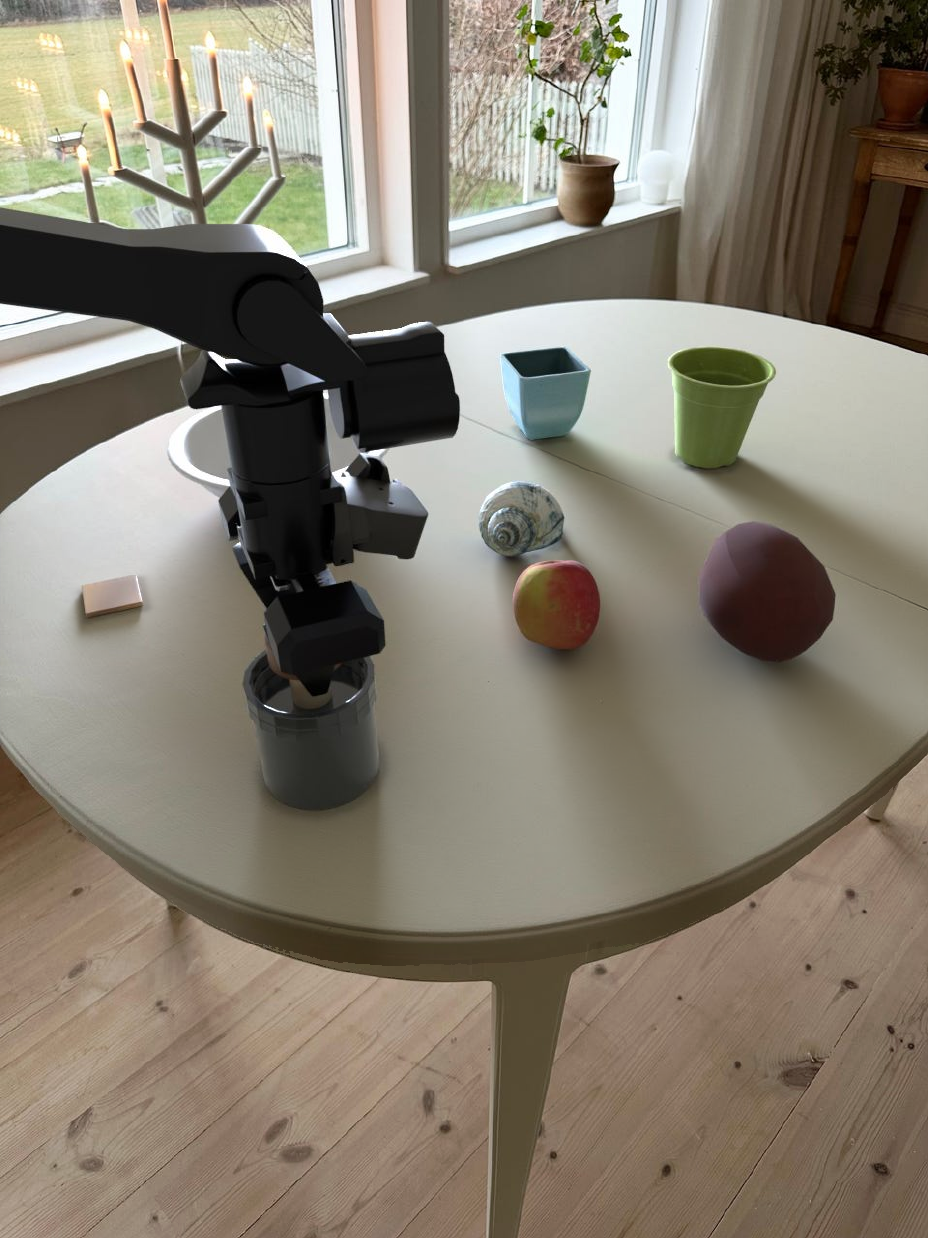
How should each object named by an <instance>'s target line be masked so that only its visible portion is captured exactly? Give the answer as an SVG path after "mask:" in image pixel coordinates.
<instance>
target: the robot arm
mask: <svg viewBox="0 0 928 1238" xmlns="http://www.w3.org/2000/svg"><path fill="white" fill-rule="evenodd" d="M0 305H7V306H14V307H22V308H29V309H30V308H31V309H37V310H43V311H44V310H45V311H52V312H58V313H59V312H60V313H65V314H75V315H81V316H89V317H96V318H104V319H105V318H106V319H112V320H119V321H125V322H126V321H127V322H130V323H133V324H138V325H141V326H144V327H148V328H150V329H154V330H156V331H158V332H160V333H163V334H165V335H167V336H170V337H172V338H174V339H176V340H178V341H181V342H183V343H185V344H187V345H189V346H192V347H194V348H196V349H198V350H201V351H200V354H199V356H198V359H197V360H196V361H195V362H194V364H192V365H191V367H189V368H188V370H187V371H185V372H184V373H183V374H182V375H181V376H180V379H179V380H180V381H179V382H180V385H181V388H182V391H183V394H184V397H185V400H186V402H187V405H188V407H189V408H190V409H192V410H202V409H203V410H204V409H210V408H213V407H217V406H221V408H222V414H223V420H224V426H225V432H226V438H227V444H228V450H229V456H230V462H231V468H227V472H228V478H229V483H230V486H229V487H228V489H227V490H226V491H225V492H224V494H223V495H222V496H221V497H220V498H219V499H218V500H217V502H218V508H219V512H220V513H219V514H220V518H221V524H222V526H223V529H224V531H225V534H226V537H227V538H228V539H227V540H228V541H229V542H233V541H237V540H238V543H236V544H234V545H233V547H232V552H233V554H234V557H235V559H236V562H237V564H238V567H239V569H240V571H241V572H242V574H243V575H244V577H245V579H246V580H247V581H248V583H249V584H250V586H251V588H252V589H253V591H254V592H255V594H256V595H257V597H258V598H259V600H260V602H261V603H262V604H263V605H264V607H265V609H266V610H265V611H264V612H263V619H264V624H263V625H262V628H263V631H264V634H265V633H266V636H267V638H268V641H269V643H270V646H271V648H272V651H273V653H274V656H275V658H276V661H277V663H278V666H279V669H280V671H281V672H283V673H286V674H290V675H295V676H296V677H297V678H298V679H299V681H300V682H301V683H302V685H303V686H304V687H305V688H306V690H307V691H308V692H309V693H310V695H311V696H313V697H316V696H319V695H323V694H326V693H327V692H328V690H329V687H330V683H331V679H332V676H333V672H334V668H335V665H337V664H341V663H345V662H349V661H352V660H356V659H360V658H364V657H368V656H370V657H372V656H376V655H379V654H381V653H382V652H383V650H384V649H385V648H386V646H387V643H386V629H385V628H386V627H385V619H384V618H383V616H382V614H381V612H380V611H379V609H378V608H377V606H376V604H375V602H374V600H373V598H372V597H371V595H370V594H369V591H368V590H367V588H364V587H362V586H361V585H359V584H358V583H356V582H354V581H353V580H345V581H341V582H337V581H336V580H335V578H334V576H333V574H332V572H331V570H330V569H329V566H328V565H331V564H333V566H334V567H342V566H346V565H350V564H351V565H352V564H355V554H354V551H356V552H359V553H366V554H375V555H385V556H386V555H387V556H395V557H397V558H398V559H399V560H412V559H414V558H415V555H416V552H417V549H418V547H419V544H420V540H421V537H422V535H423V532H424V529H425V526H426V523H427V520H428V517H429V511H428V510H427V509H426V508H425V506H424V505H423V504H422V502H421V501H420V500H419V498H418V496H416V494H415V492H413V490H412V489H410V488H409V487H407V486H406V485H403V483H402V482H401V481H400V479H398V478H392V481H391V478H390V473H389V468H388V465H386V463H385V462H384V460H383V458H382V459H381V458H380V457H379V456H376V455H370V454H364V452H370V451H376V450H382V449H388V448H389V449H394V448H400V447H406V446H412V445H417V444H423V443H429V442H436V441H440V440H447V439H453V438H454V437H455V436H456V435H457V432H458V430H459V426H460V425H459V424H460V416H461V400H460V396H459V394H458V393H457V392H456V385H455V381H454V375H453V371H452V367H451V365H450V362H449V359H448V356H447V354H446V352H445V334H444V333H443V332H442V331H441V330H440V329H439V328H438V327H437V326H436V325H435V324H433V322H431V321H425V322H418V323H417V322H416V323H412V324H409V325H406V326H404V327H402V328H397V329H391V330H389V329H388V330H383V331H382V330H381V331H375V332H374V331H373V332H367V333H360V334H351V335H349V334H348V333H347V331H345V329H344V328H343V326H342V325H341V324H340V322H338V320H337V319H336V318H335V317H334V316H333V314H332V313H330V312H328V313H327V312H326V313H325V312H324V298H323V294H322V290H321V288H320V283H319V282H318V280H317V279H316V277H315V276H314V275H313V273H312V272H311V270H310V269H309V267H308V266H307V265H306V264H305V262H303V260H302V259H301V258H300V257H299V256H298V255H297V254H296V252H295V251H294V250H293V249H292V247H291V246H290V245H289V244H288V242H286V241H285V240H284V239H283V238H282V237H281V236H280V235H278V233H276V232H275V231H273V230H271V229H268V228H266V227H263V226H262V225H258V224H251V223H187V224H180V225H171V226H165V227H157V228H122V227H116V226H110V225H106V224H99V223H93V222H87V221H82V220H77V219H70V218H64V217H59V216H53V215H47V214H41V213H36V212H31V211H25V210H18V209H12V208H8V207H3V206H0ZM221 356H222V357H221ZM223 357H226V358H228V359H225V358H223ZM324 391H327V395H328V399H329V406H330V412H331V416H332V420H333V424H334V427H335V430H336V432H337V434H338V436H339V437H340V438H341V439H343V438H349V437H351V436H352V438H353V440H354V442H355V445H356V447H357V449H358V450H359V451H360V452H361V453H360V454H359V455H358V456H357V457H356V459H355V460H354V461H353V462H352V463H351V464H350V465H349V467H348V468H347V469H346V470H345V471H343V472H342V475H341V477H336V476H334V475H333V473H332V472H331V466H330V455H329V445H328V435H327V425H326V414H325V404H324V394H325V393H324Z"/></svg>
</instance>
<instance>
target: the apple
mask: <svg viewBox="0 0 928 1238" xmlns="http://www.w3.org/2000/svg"><path fill="white" fill-rule="evenodd" d="M512 594H513V596H512V609H513V616H514V619H515V622H516V625H517V627H518V629H519V631H520V633H521V634H522V635H523V636H524V638H526V639H527V640H528V641H530V642H532V643H535V644H538V645H542V646H543V647H547V648H552V649H559V650H576V649H578V648H580V647H582V646H584V645H585V644H587V642H588V641H589V640H590V638H591V637H592V636H593V634H594V632H595V630H596V628H597V627H598V626H597V625H598V622H599V619H600V614H601V595H600V590H599V586H598V583H597V582H596V579H595V577H594V576H593V574H592V572H591V571H590V569H589V568H588V567H587V566H586V565H584V564H582V563H581V562H579V561H576V560H569V559H568V560H559V559H549V560H545V561H538V562H536V563H533V564H531V565H529V566H528V567H527V568H526V569H524V570H523V571H522V572H521V574H520V575H519V576H518V578H517V581H516V583H515V586H514V589H513V593H512Z"/></svg>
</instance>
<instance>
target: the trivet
mask: <svg viewBox="0 0 928 1238" xmlns="http://www.w3.org/2000/svg"><path fill="white" fill-rule="evenodd" d="M139 585H140V584H139V581H138V576H137V574H136V573H134V574H130V575H124V576H121V577H119V576H118V577H115V578H110V579H105V580H101V581H96V582H91V583H86V584H81V591H82V598H83V599H82V600H83V606H84V613H85V617H86V618H87V619H88V618H93V617H96V616H102V615H108V614H110V613H116V612H121V611H124V610H125V611H126V610H130V609H134V608H139V607H143V606H144V603H143V599H142V598H143V597H142V594H141V590H140V586H139Z"/></svg>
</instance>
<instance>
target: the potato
mask: <svg viewBox="0 0 928 1238" xmlns="http://www.w3.org/2000/svg"><path fill="white" fill-rule="evenodd" d="M836 596H837V595H836V592H835V589H834V586H833V584H832V582H831V579H830V576H829V574H828V572H827V570H826V567H825V565H823V563H822V562H821V561H820V560H819V559H818V558H817V557H816V556H815V555H814V554H813V552H811V550H810V549H809V548H808V547H807V546H806V544H804V543H803V542H802V541H801V539H799V538H798V537H797V536H795V535H794V534H792V533H790V532H788V531H787V530H784V529H783V528H780V527H778V526H775V525H773V524H771V523H766V522H760V521H754V520H753V521H748V522H743V523H742V522H741V523H738V524H736V525H734V526H732V527H730V528H729V529H728V530H727V529H726V531H724V532H723V533H722V534H720V535H719V536H717V537H716V538H715V539H714V541H713V544H712V546H711V548H710V550H709V552H708V554H707V556H706V558H705V560H704V563H703V564H702V567H701V568H700V571H699V572H698V599H699V600H698V601H699V602H698V603H699V606H700V609H701V611H702V614H703V616H704V618H705V619H706V620H707V622H708V623H709V624H710V625H711V626H712V628H713V629H714V630H715V632H716V633H717V634H718V635H719V636H720V637H721V638H722V639H723V640H725V641H726V642H727V643H729V644H730V645H731V646H732V647H734V648H735V649H737V650H738V651H740V652H741V653H743V654H745V655H747V656H749V657H752V658H754V659H756V660H759V661H762V662H771V663H781V662H786V661H789V660H792V659H795V658H796V657H798V656H800V655H802V654H804V653H805V652H806V651H808V650H809V649H810V648H811V647H812V646H813V645H814V644H815V643H817V642H818V641H819V640H820V639H821V638H822V636H823V635H824V633H825V632H826V630H828V629H827V628H828V627H829V626H830V624H831V623H832V622H833V620H834V615H835V609H836V608H835V607H836V598H837V597H836Z"/></svg>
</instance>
